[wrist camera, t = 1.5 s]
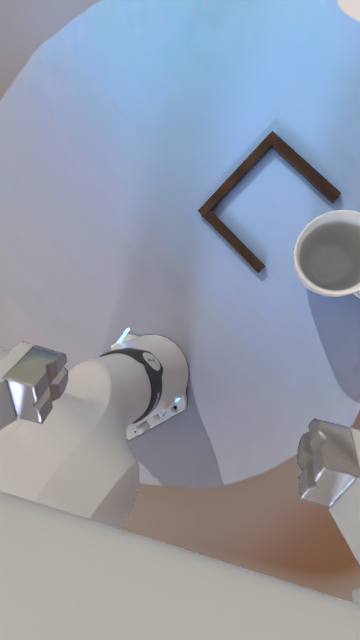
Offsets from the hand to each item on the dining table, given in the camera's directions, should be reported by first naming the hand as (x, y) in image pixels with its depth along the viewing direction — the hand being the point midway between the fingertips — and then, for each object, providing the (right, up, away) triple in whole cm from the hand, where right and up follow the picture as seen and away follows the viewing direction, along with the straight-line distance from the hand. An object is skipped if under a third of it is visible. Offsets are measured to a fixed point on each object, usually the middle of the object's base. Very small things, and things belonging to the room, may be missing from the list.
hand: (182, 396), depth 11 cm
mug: (+25, +11, +44) cm, 51 cm away
